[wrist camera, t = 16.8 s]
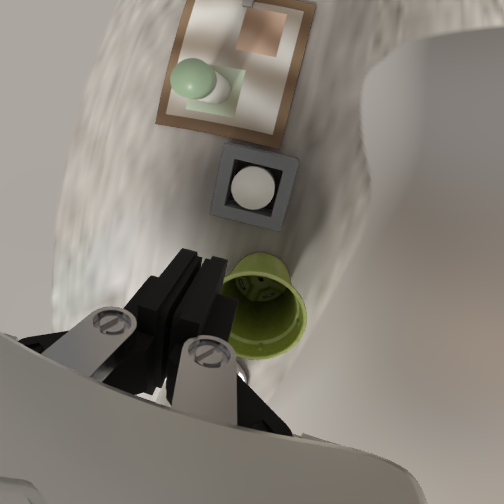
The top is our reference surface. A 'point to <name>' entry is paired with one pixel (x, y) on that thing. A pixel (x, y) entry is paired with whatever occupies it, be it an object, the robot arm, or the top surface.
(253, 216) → the button box
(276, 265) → the plant pot
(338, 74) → the top surface
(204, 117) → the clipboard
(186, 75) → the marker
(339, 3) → the top surface
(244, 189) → the button cap
